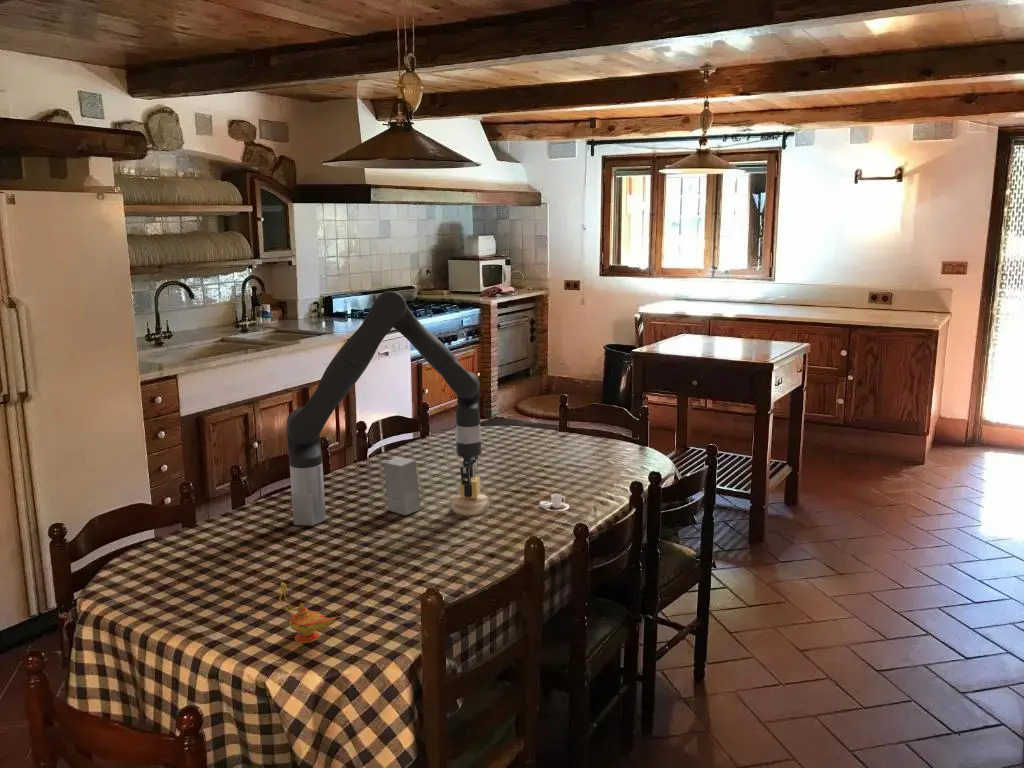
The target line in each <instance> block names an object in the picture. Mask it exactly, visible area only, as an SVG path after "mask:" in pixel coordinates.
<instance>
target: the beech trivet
mask: <svg viewBox="0 0 1024 768" xmlns="http://www.w3.org/2000/svg"><path fill="white" fill-rule="evenodd" d="M489 501H490V499H489V497H488V496H487V495H484V494H481V493H480V494H479V495H478V497H477V498H465V497H460V494H458V495H456V496H454V497H453V498H452V500H451V504H452V505H451V506H452V507H451V508H452V512H453V513H454V514H457V515H461V516H476V515H482V514H485V513H487V512H488V511H489V510H488V509H490V508H489Z"/></svg>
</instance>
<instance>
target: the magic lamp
mask: <svg viewBox="0 0 1024 768" xmlns="http://www.w3.org/2000/svg"><path fill="white" fill-rule="evenodd" d="M286 590H287V584H286V583H285V582H282V581H281V582H280V591H281V594H280V595H279V599H278V600H279V603H280V604H281V605H282V607H283V608H284V609H285V610H286V611H287V612H288V613H289V614H290V617H288V625H289V627H290V628H291V630H293V631H295V632H298V633H297V634H296V635H295V636H294V641H296V642H297V643H301V644H308V643H313V642H314V641H317V640H318V639H319V638H320V633H319V632H318V631H320V630H324V629H326V628H327V627H330V626H332V625H333V624H335V623H336V622H338V621H344V620H345V617H344V616H333V617H325V616H324V615H323V614H322V613H321V612H319V611H314V610H309V609H308V608H307V607H306V606H305V605H304V603H303V602H302V603H300V604H299V606H298V607H297V608H293V607H292V606H291V604H290V603H289V601H288V598H287V596H286V593H285V592H286ZM282 596H284V599H285V600H286V604H287V605H288V607H289V608H290V609H291V610H292V611H296V613H293V612H292V611H291V610H289V608H288V607H286V605H284V603H283V602H282Z"/></svg>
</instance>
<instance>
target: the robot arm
mask: <svg viewBox="0 0 1024 768" xmlns="http://www.w3.org/2000/svg"><path fill="white" fill-rule="evenodd" d="M392 329H394V330H396V331H397V332H398V333H400V334H401V335H402V336H403V337H404V338H405V339H406V340H407V341H408V342H409V343H410V344H411V345H412V346H413V348H415V349H416V351H417V352H418V353H419V355H420V356H422V358H423V359H424V360H425V361H426V362H427V364H428V365H430V366H431V367H432V368H433V369H434V370H435V371H436V372H437V373H438V374H439V375H440V376H441V377H442V378H443V380H444V381H445V382H446V384H447V385H448V387H450V389H451V390H452V392H453V393H455V394H456V398H457V400H456V401H457V404H456V411H455V421H456V427H455V445H456V446H455V447H456V448H455V450H456V455H457V456H458V457H461V458H462V459H463V460H462V461H461V466H460V469H459V471H460V481H462V485H464V496H465V497H471V496H472V477H478V476H477V475H478V466H479V463H478V462H479V461H478V460H479V456H480V455H481V454H482V451H483V450H482V429H481V416H480V415H481V414H480V413H481V412H480V394H481V393H480V392H481V385H480V384H481V383H480V378H479V377H478V375H477V374H476V373H474V372H473V371H469V370H466V369H465V367H463V365H461V364H460V360H459V359H458V357H457V356H456V355H455V354H454V353H453V352H452V351H451V350H450V349H449V348H448V347H447V346H446V345H445V344H444V343H443V342H442V341H441V339H438V338H437V337H436V336H435V335H434V334H433V333H432V332H431V331H430V330H428V329H427V327H425V326H424V325H423V324H422V323H421V322H420V321H419V320H418V319H417V317H416V316H415V315H414V313H413V312H412V310H411V309H410V308H409V306H408V305H407V302H406V298H404V296H403V295H402V294H400V293H399V292H398V291H392V290H386V291H384V292H382V293H380V294H379V295H378V296H377V297H376V299H375V301H374V303H373V304H372V306H371V308H370V310H369V312H368V314H367V315H366V317H365V318H364V320H363V322H361V324H360V326H359V327H358V328H357V330H356V331H355V332H353V334H352V335H351V336H350V337H349V338H348V339H347V341H345V343H344V344H343V345H342V346H341V347H340V349H339V350H338V351H337V352H336V354H335V355H334V356H333V358H332V359H331V361H330V362H329V363H328V365H327V367H326V368H325V371H324V373H323V374H322V375H321V376H322V377H321V378H320V380H319V383H318V384H317V387H316V389H315V391H314V392H313V394H312V395H311V397H310V398H309V399H308V401H307V402H306V404H304V405H303V406H302V407H299V408H298V407H297V408H295V409H294V410H292V411H290V413H289V415H288V416H287V419H286V426H285V427H286V438H287V439H286V440H287V451H288V459H289V471H290V472H289V474H290V486H291V487H290V488H291V489H290V490H291V501H292V502H291V507H292V519H293V525H295V526H311V527H312V526H315V525H316V524H321V523H322V522H324V521H325V520H326V519H327V515H326V514H327V513H326V497H325V484H324V469H323V468H324V467H323V466H324V465H323V464H324V463H323V454H322V452H323V451H322V446H321V433H322V431H323V429H324V427H325V425H327V424H326V423H327V421H328V420H329V418H330V417H331V415H332V414H333V412H334V410H335V409H336V408H337V407H338V405H339V404H340V403H341V402H342V401H343V399H345V397H346V396H347V395H348V393H349V392H350V390H351V389H353V387H354V385H355V384H356V383H358V380H359V379H360V378H361V376H362V375H363V373H364V372H365V371H366V369H367V367H368V366H369V365H370V363H371V361H372V359H373V357H374V355H376V352H377V350H378V348H379V346H380V344H381V342H382V341H383V340H384V338H385V337H386V336H387V334H389V333H390V332H391V330H392ZM466 479H468V481H466Z"/></svg>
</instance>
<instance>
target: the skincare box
mask: <svg viewBox="0 0 1024 768" xmlns="http://www.w3.org/2000/svg"><path fill="white" fill-rule="evenodd" d="M416 462H417V461H416V460H413V459H409V458H406V457H405V458H404V457H401V456H397V457H395V458H392V459H391V458H390V459H389V460H386V461H383V463H382V465H383V472H384V473H383V475H384V482H385V490H386V491H385V492H386V500H387V501H386V502H387V510H388V511H389V512H392V513H396V514H400V515H403V516H408V515H411V514H413V513H416V512H419V511H421V501H420V491H419V481H418V471H417V463H416Z"/></svg>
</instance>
